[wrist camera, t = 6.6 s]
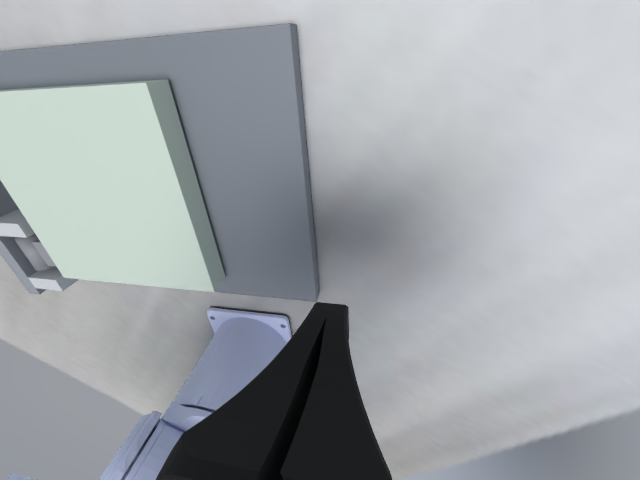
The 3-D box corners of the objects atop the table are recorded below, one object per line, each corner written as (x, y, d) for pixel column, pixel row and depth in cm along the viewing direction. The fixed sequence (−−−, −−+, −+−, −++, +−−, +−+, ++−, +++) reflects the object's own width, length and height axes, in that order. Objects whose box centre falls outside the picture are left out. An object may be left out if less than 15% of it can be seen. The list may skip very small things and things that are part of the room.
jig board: (319, 291, 25) (309, 324, 22) (65, 268, 30) (29, 292, 28) (296, 24, 16) (273, 20, 13) (-68, 59, 21) (-144, 62, 18)
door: (225, 277, 24) (214, 292, 23) (52, 262, 28) (33, 274, 26) (167, 79, 17) (145, 82, 15) (-58, 93, 20) (-94, 97, 19)
